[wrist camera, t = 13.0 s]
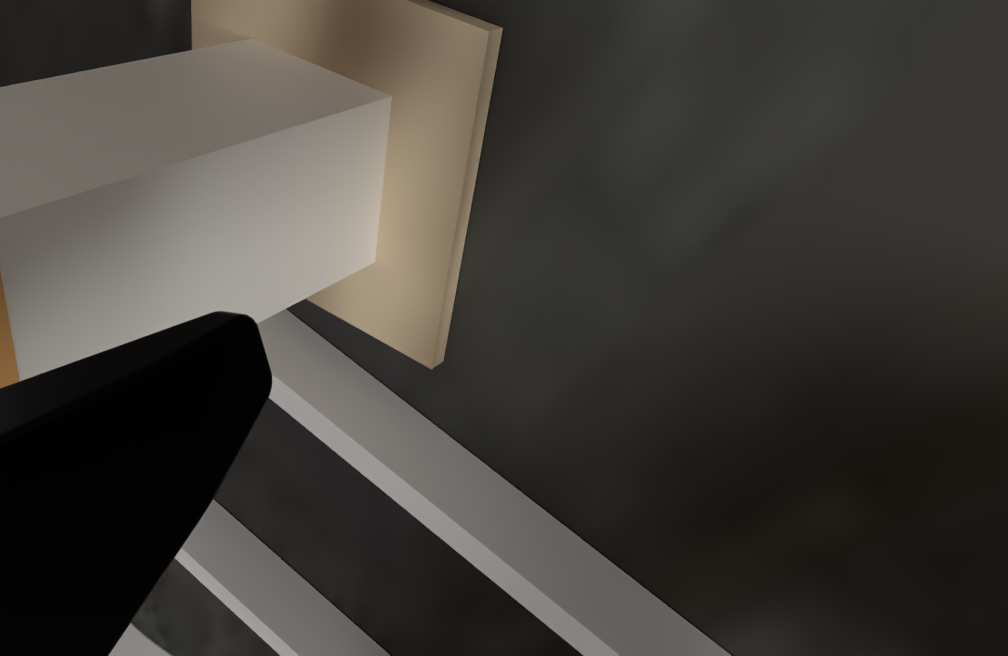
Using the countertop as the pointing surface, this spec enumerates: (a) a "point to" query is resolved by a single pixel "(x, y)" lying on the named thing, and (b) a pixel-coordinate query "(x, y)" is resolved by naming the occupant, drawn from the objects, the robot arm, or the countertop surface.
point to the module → (179, 196)
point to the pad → (393, 142)
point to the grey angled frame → (434, 502)
